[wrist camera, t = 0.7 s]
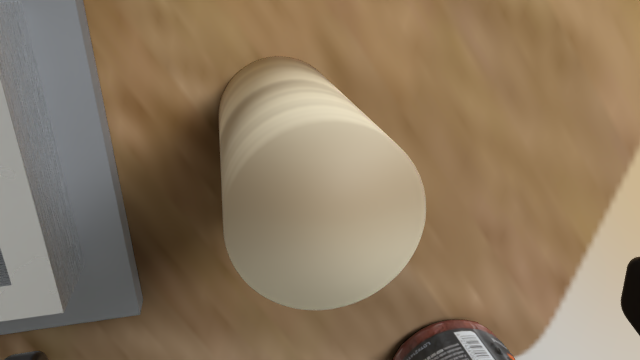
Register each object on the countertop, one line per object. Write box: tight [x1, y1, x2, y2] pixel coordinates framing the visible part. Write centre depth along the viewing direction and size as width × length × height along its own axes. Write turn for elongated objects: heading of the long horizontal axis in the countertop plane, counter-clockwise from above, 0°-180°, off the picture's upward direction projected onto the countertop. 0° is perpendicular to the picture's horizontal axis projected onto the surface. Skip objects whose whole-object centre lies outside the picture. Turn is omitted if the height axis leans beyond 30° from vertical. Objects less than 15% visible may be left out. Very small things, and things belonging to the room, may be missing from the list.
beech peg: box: [219, 56, 426, 310], centre depth 15 cm, size 4×4×9 cm
